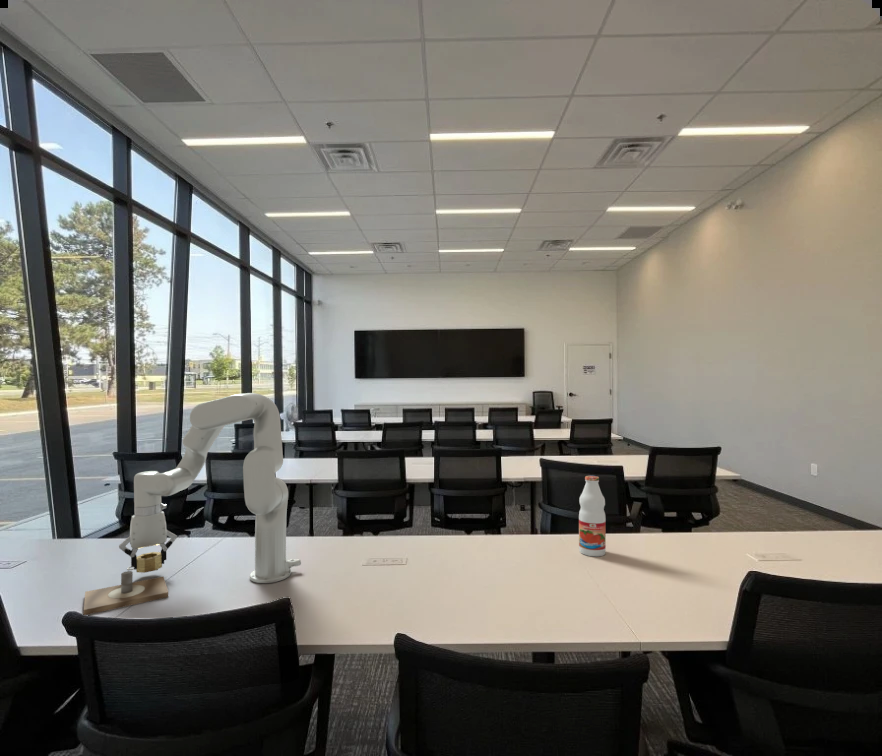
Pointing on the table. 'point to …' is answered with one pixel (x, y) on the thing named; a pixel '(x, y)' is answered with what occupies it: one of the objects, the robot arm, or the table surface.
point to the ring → (149, 562)
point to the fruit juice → (592, 519)
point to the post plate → (125, 594)
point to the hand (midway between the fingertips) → (149, 565)
